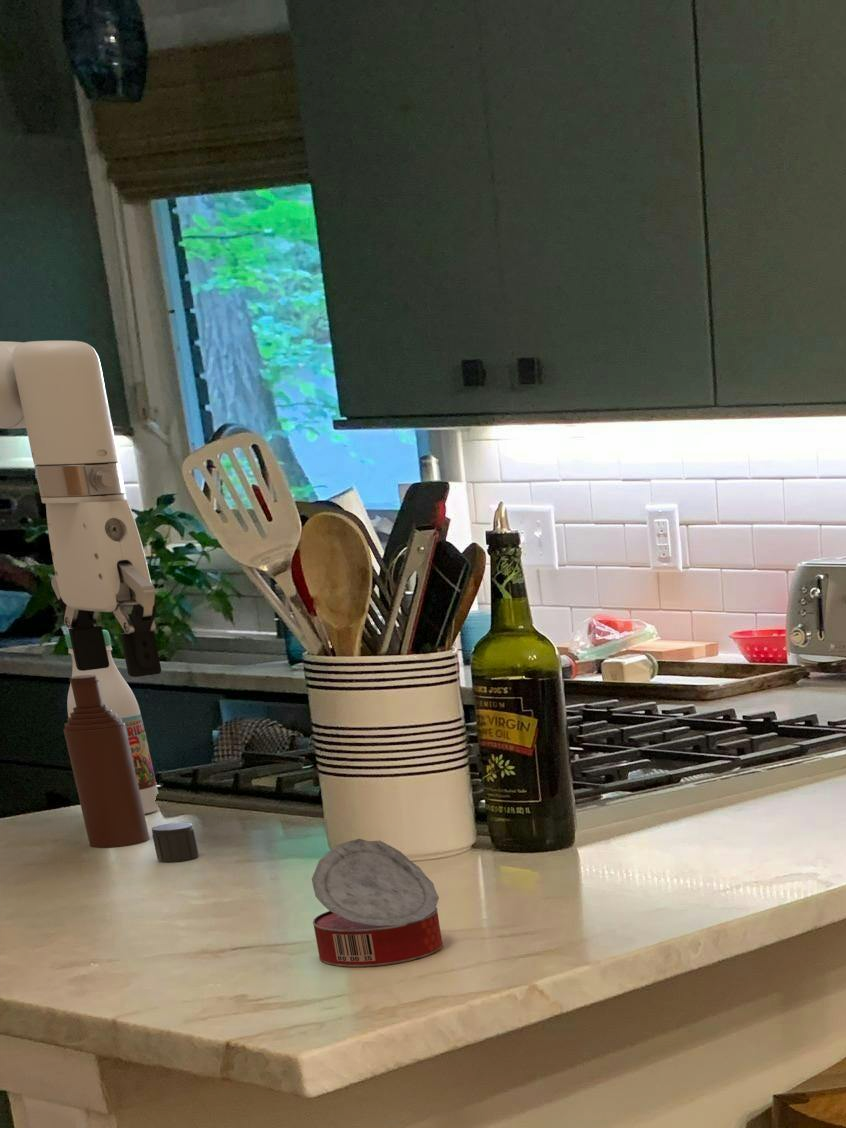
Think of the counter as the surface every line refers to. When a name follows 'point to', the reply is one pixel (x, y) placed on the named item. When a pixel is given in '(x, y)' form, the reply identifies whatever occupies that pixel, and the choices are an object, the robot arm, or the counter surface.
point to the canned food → (374, 907)
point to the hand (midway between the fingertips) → (119, 672)
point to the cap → (175, 842)
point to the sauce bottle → (103, 769)
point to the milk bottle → (128, 710)
